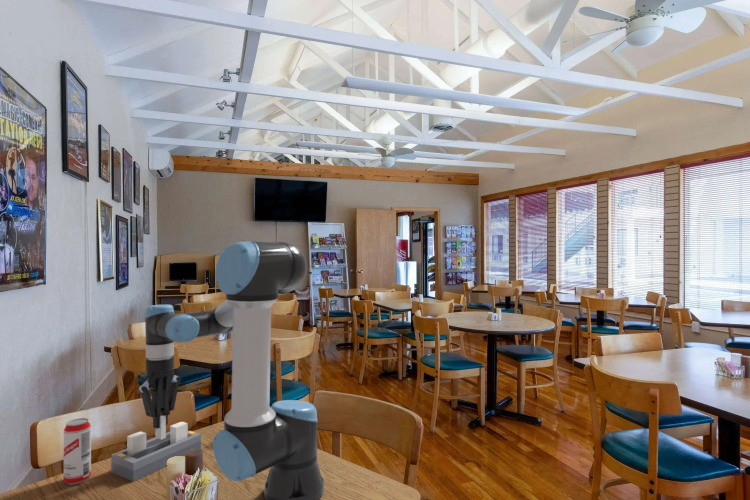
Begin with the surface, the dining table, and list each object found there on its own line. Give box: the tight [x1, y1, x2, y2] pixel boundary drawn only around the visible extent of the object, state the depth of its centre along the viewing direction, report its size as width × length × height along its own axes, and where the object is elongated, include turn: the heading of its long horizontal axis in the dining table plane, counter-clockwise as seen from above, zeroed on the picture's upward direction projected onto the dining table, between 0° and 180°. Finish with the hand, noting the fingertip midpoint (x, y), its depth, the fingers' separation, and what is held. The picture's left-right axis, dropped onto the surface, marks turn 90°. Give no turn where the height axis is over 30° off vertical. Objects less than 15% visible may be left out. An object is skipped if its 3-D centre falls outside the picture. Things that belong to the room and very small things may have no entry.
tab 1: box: [126, 431, 147, 456], centre depth 129 cm, size 3×4×6 cm
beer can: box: [63, 417, 92, 486], centre depth 121 cm, size 6×6×16 cm
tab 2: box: [169, 421, 189, 445], centre depth 136 cm, size 3×4×6 cm
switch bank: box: [110, 430, 202, 482], centre depth 133 cm, size 10×22×5 cm, turn 151°
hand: (160, 437), depth 131 cm, fingers closed
